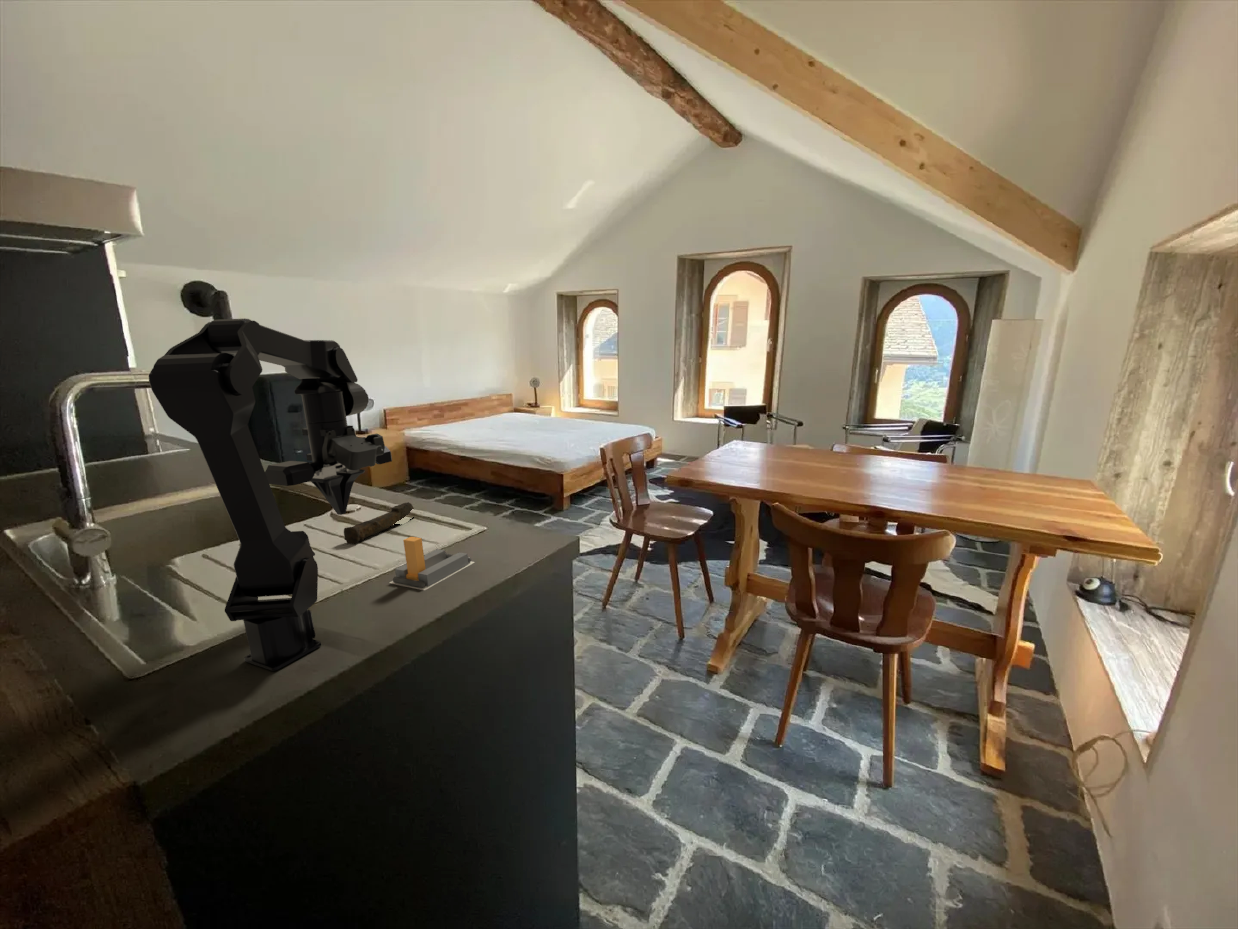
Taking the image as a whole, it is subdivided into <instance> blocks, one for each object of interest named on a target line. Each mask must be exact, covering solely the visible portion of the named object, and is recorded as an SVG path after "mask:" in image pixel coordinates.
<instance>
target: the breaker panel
mask: <svg viewBox="0 0 1238 929" xmlns="http://www.w3.org/2000/svg"><path fill="white" fill-rule="evenodd" d="M424 561H425V568H426V569H425V570H423V571H422V572H420V573H418V578H419V581H416V580H411V579H407V578H406V575H407V574H408V570H407V563H404V564H403V565H400V566H398V567H396V568H394V571H395V576H394V577H393V579H392V581H390V582H388V583H389V584H391V585H397V586H401V587H407V588H412V589H417V590H421V591H426V590H428V589H430V588H432V587H433V586H435V585H437V584H440V582H443V581H444V580H446V579H448V578H450V577H451V576H453V575H455V574H456V573H459V572H460V571H462V570H464V569H465V568H468V567H469V566H471V565H473V564H475V563H476V562H475V561H472V558H471V557H470V556H469V555H468V553H466V552H456V553H455V554H452V553H447V552H446V550H445V549H439V548H437V549H434V550H432V551H430V552H428V553H426V554H424Z"/></svg>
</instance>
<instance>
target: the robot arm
mask: <svg viewBox="0 0 1238 929" xmlns="http://www.w3.org/2000/svg"><path fill="white" fill-rule="evenodd" d="M261 362H264V363H268V364H273V365H277V366H282V367H283V368H284V371H285V373H286V374H288V375H291V376H292V377H295V378H296V379H299V381H300V384H298V385H297V386H296V387H295V389H294V394H295V395H300V396H301V400H302V407H303V412H304V419H305V423H306V424H305V425H306V428H301V432H302V436H308V443H309V448H310V453H307V454H306V460H307V461H298V460H297V461H296V460H288V461H283V462H278V463H273V464H272V463H271V464H268V465H267V467H266V468H265V469H264V466H263V464H262V460H261V458H260V456H259V455H260V454H259V453H258V450H257V446H256V444H255V441H254V440H253V439H254V438H253V437H252V433H251V431H250V428H249V422H250V419H251V416H252V414H253V413H252V412H253V410H254V407H255V404H256V397H255V393H254V389H253V386H254V385H255V383H256V382H257V381H258V379H259V377H260V375H261V374H262V372H263V367H262V364H261ZM148 382H149V385H150V390H151V392H152V393H153V395H154V397H155V398H156V400H157V401H158V403H159V405H160V406H161V408H162V410H163V411H164V413H165V415H166V416H167V417H168V418H169V419H170V420H171V421H173V422H174V423H175V424H177V425H178V426H179V427H180V428H182V429H184V430H185V431H186V432H187V433H189V434H190V435H191V436H193V437H194V438H195V440H196V441H197V444H198V447H199V448H200V451H201V452H202V455H203V458H204V459H205V462H206V465H207V467H208V470H209V472H210V474H211V476H212V478H213V479H212V480H213V481H214V484H215V485H216V486H215V487H216V488H217V491H218V493H219V495H220V498H221V500H222V503H223V505H224V507H225V510H226V512H227V514H228V516H229V519H230V521H231V524H232V526H233V529H234V531H235V533H236V535H237V538H238V540H239V543H240V545H239V548H238V551H237V553H236V556H235V559H234V562H233V568H234V572H235V578H234V582H233V585H232V588H231V591H230V593H229V596H228V599H227V601H226V604H225V607H224V613H225V615H226V616H227V618H228V620H229V621H230V622H237V621H243V625H244V629H245V634H246V639H247V643H248V649H249V652H250V654H247V655H246V656H244V659H243V660H244V662H246V663H249V664H252V665H255V666H257V667H260V668H263V669H266V670H268V671H271V672H275V671H278V670H280V669H282V668H283V667H285V666H287V665H289V664H291V663H293V662H295V661H296V660H298V659H299V658H302V657H303V656H305V655H307V654H309V653H310V652H313V651H314V650H316V649H318V648H320V647H321V646H322V641H320V640H317V639H315V638H316V630H315V626H314V620H313V619H314V618H313V616H312V610H310V608H311V607H312V606H313V605H314V604H315V603H317V601H318V587H319V586H318V583H319V578H318V577H319V568H318V566H319V565H318V563H317V561H316V559H315V558H314V557H315V556H316V553H315V552H314V551H313V548H312V547H311V542H310V539H309V536H308V534H307V532H305V531H304V530H295V531H291V530H289V529H288V528H287V527H286V525H285V523H284V519H283V516H282V515H281V512H280V509H279V507H278V504H277V501H276V498H275V495H274V493H273V490H272V488H271V485H276V486H285V487H290V486H296V485H297V486H298V485H300V484H304V483H305V484H306V483H309V482H311V484H313V485H314V486H315V487H316V489H318V491H319V492H320V493H321V495H323V497H324V499H326V501H327V502H328V504H329V505H330V506H331V508H332V509H333V510H334V512H335V513H336V514H337V515H340V516H342V515H344V514H346V513H347V509H348V504H349V501H350V496H351V492H352V489H353V485H354V483H355V481H356V480H357V478H358V477H359V476H360V475H362V474H364V473H365V471H366V470H365V469H363V468H367V467H371V468H372V467H374V466H376V465H383V464H387V463H390V462H393V457H392V451H391V450H390V449H389V448H388V446H386V445H385V442H384V437H383V435H381V434H380V433H379V434H378V433H373V434H368V435H367V436H366V437H365V436H362V437H358V436H357V434H356V430H355V428H354V426H353V425H348V421H347V420H348V419H347V417H349V416H352V415H354V416H355V415H357V414H360V413H362V412H364V411H365V410H366V408H367V407H368V404H369V394H368V393H367V391H366V389H364V388H363V386H361V385H360V384H358V383H357V382H358V377H357V375H356V372H355V371H354V369H353V367H352V365H351V363H350V361H349V359H348V357H347V354H346V353H345V350H344V349H343V348H342V347H341V345H340V344H339V343H338V342H337V341H335V340H334V339H333V340H332V339H331V340H330V339H329V340H327V339H313V340H311V339H303V338H299V337H296V336H293V335H290V334H287V333H285V332H281V331H279V330H276V329H274V328H270V327H269V326H268V327H267V326H264V325H261V324H260V323H259V322H258V321H255V320H252V319H250V318H226V319H224V318H223V319H222V318H221V319H219V318H218V319H213V320H211V321H208V322H207V323H205V324H204V325H203V326H202V328H201V329H200V330H199V331H198V332H197V333H195V334H194V335H192V336H190V337H187V338H186V339H184V340H183V341H180V342H178V343H177V344H175V345H174V346H171V347H170V348H169V349H168V350H167V351H166V353H164V355H162V356H160V357H159V358H158V359H157V360H156V361H155V363H154V364H153V368H151V370H150V373H149V374H148ZM308 461H309V462H308ZM277 596H279V597H280V596H291V597H287V598H286V597H285V598H270V599H259V598H261V597H277Z"/></svg>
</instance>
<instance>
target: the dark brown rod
mask: <svg viewBox="0 0 1238 929" xmlns="http://www.w3.org/2000/svg"><path fill="white" fill-rule="evenodd" d="M412 509H414V510H415V508H414V506H413V504H412V503H411V502H409V501H408V502H403V503H401V504H398V505H395V506H393V507H392V508H391V511H389V512H386V513H384V514H381V515H380V516H377V517H375V518H372V519H369V520H365V521H363V522H360V523H358V524H355V525H352V526H348V527H347V526H346V527H344V529H343V535H344V540H345V541H346V543H347V544H350V545H355V544H358V543H359V542H363V541H364V539H366V538H368V537H371V536H373V535H375V534H377V533H380V532H383V531H384V530H387V529H389V528H391V527H393V526H392V525H393V524H395V523H396V522H397V521H399V520H401V519H402V518H404V517H405V516H406V515H408V514H409V513H410V511H411V510H412ZM390 526H391V527H390Z"/></svg>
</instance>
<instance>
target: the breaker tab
mask: <svg viewBox="0 0 1238 929" xmlns="http://www.w3.org/2000/svg"><path fill="white" fill-rule="evenodd" d="M402 540H403V546H404V554H405V561H406V563H405V564H407V570H408V574H407V575H406V578H407V579H411V580H416V581H419V578H418V573H420V572H422V571H423V570H425V569H426V568H425V561H424V555H425V554H424V545H423V539H422V537H417V536H409V537H407V538H405V539H402Z"/></svg>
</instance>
